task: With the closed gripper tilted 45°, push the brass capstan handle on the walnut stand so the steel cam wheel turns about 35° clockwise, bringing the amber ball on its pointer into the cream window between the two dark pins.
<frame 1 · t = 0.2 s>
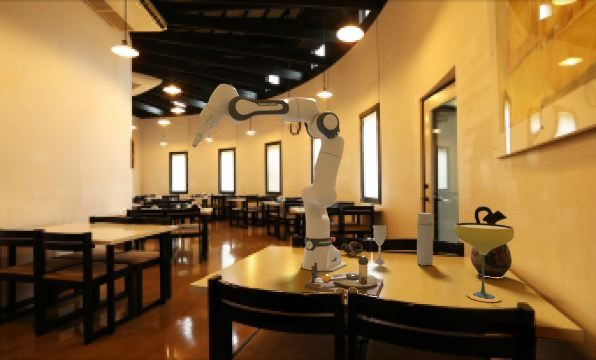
hand: (193, 145, 143), 54 cm above the table, tool tilted 30°, fingers open, 8 cm apart
chalice: (379, 262, 171), on the table
ceramic jug: (488, 276, 148), on the table
cocktail glass: (483, 298, 120), on the table
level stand: (352, 288, 129), on the table
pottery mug: (352, 255, 189), on the table
water bottle: (425, 264, 168), on the table
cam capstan: (349, 267, 128), point 8 cm above the table, hinge at 0.0°
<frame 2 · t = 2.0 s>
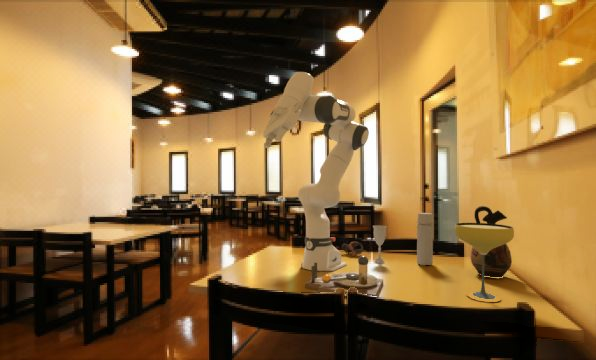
hand: (271, 143, 115), 52 cm above the table, tool tilted 30°, fingers open, 8 cm apart
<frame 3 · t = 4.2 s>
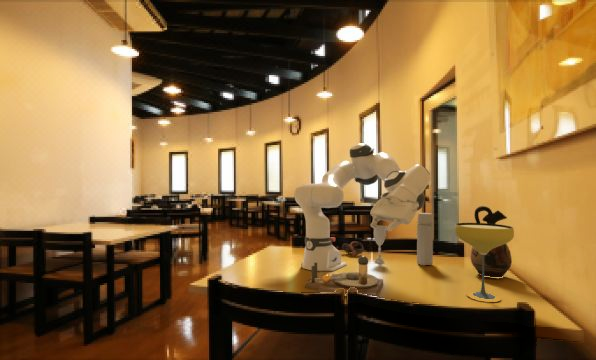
hand: (380, 228, 124), 23 cm above the table, tool tilted 45°, fingers open, 8 cm apart
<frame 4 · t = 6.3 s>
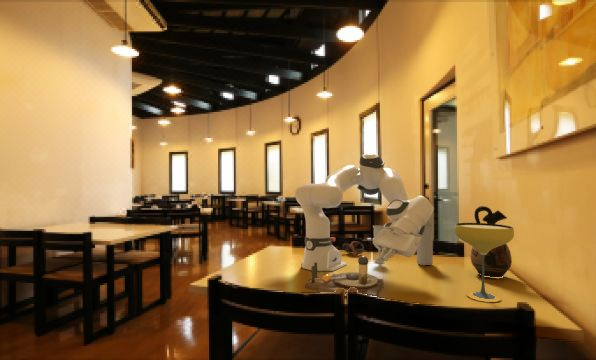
hand: (382, 259, 125), 12 cm above the table, tool tilted 45°, fingers closed
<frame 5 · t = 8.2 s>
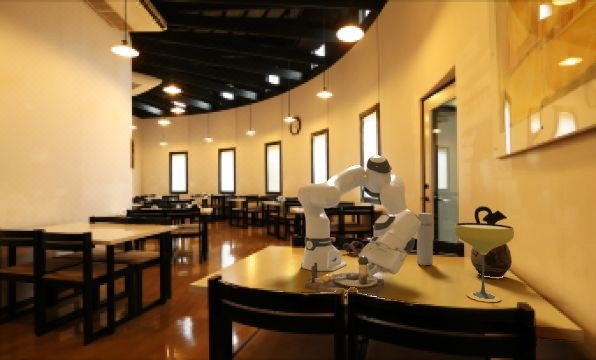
hand: (367, 275, 123), 6 cm above the table, tool tilted 45°, fingers closed, pressing on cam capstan
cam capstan: (349, 267, 128), point 8 cm above the table, hinge at -0.5°, touching gripper
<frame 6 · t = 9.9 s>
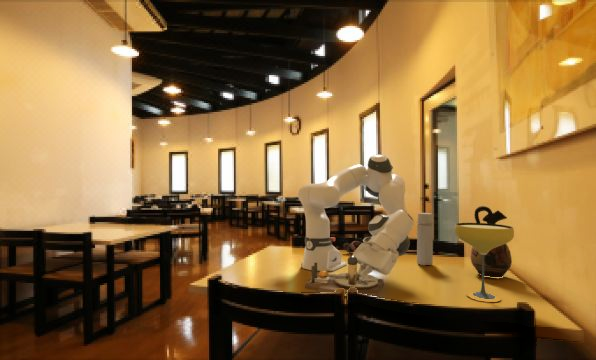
hand: (359, 276, 122), 6 cm above the table, tool tilted 45°, fingers closed
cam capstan: (348, 267, 129), point 8 cm above the table, hinge at -32.1°
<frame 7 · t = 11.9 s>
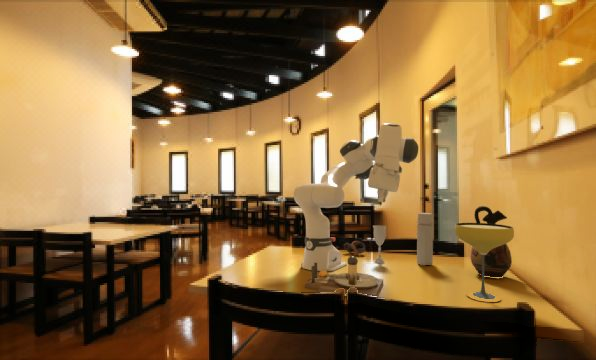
hand: (381, 202, 129), 32 cm above the table, tool pointing down, fingers closed
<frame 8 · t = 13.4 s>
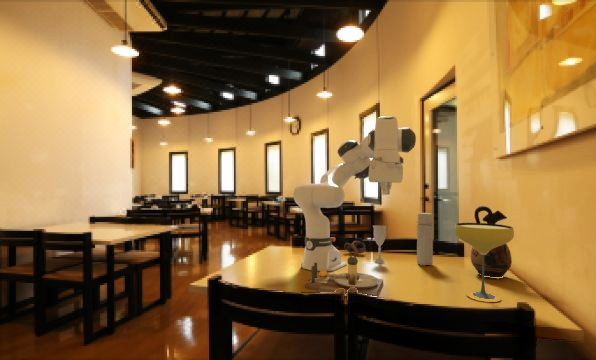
hand: (385, 194, 131), 35 cm above the table, tool pointing down, fingers closed
at the end: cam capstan at -32° (first picture: +0°) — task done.
